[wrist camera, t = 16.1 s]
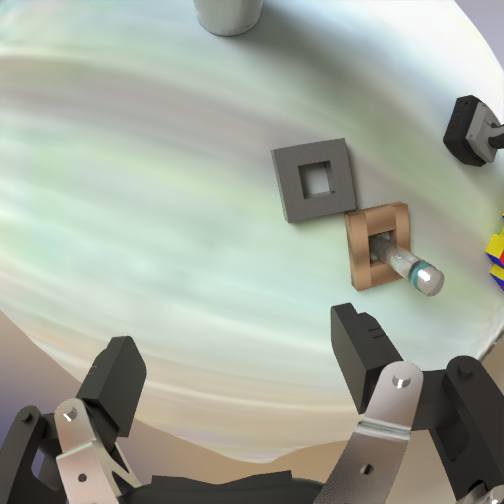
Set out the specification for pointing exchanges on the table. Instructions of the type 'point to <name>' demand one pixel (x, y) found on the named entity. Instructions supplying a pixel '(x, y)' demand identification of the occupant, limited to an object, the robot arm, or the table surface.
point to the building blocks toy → (497, 256)
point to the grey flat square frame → (337, 174)
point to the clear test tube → (407, 265)
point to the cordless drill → (474, 132)
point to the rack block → (357, 235)
